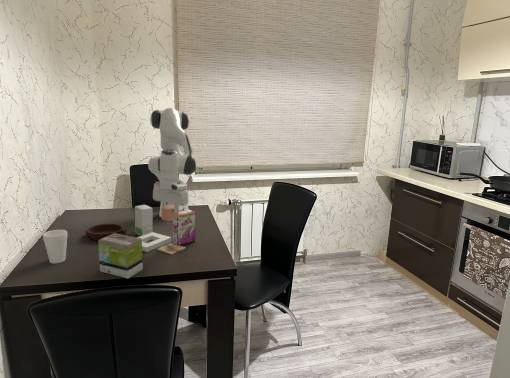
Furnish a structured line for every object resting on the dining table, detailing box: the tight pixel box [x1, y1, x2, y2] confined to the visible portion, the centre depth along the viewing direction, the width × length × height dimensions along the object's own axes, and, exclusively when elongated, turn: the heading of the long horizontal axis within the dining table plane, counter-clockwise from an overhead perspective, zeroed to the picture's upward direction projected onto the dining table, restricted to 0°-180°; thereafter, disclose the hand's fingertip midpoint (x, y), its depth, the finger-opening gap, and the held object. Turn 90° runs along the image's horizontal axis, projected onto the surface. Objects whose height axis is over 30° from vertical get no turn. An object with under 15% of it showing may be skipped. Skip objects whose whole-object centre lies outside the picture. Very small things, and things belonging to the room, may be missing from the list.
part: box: [161, 206, 179, 222], centre depth 176 cm, size 7×4×6 cm, turn 149°
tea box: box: [97, 233, 144, 279], centre depth 153 cm, size 15×10×15 cm, turn 69°
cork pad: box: [156, 242, 187, 255], centre depth 180 cm, size 10×10×1 cm
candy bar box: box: [172, 209, 197, 246], centre depth 188 cm, size 11×5×16 cm, turn 135°
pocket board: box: [137, 231, 173, 253], centre depth 186 cm, size 17×14×2 cm
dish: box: [84, 223, 127, 241], centre depth 194 cm, size 18×22×5 cm
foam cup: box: [42, 229, 68, 264], centre depth 161 cm, size 10×9×13 cm
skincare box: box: [134, 204, 153, 237], centre depth 199 cm, size 8×7×16 cm
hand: (170, 211), depth 175 cm, fingers closed on part, 4 cm apart
